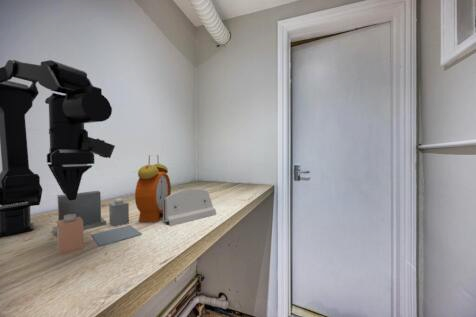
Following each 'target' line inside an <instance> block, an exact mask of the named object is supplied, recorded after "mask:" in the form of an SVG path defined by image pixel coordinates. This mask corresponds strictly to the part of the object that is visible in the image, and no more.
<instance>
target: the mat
mask: <svg viewBox="0 0 476 317" xmlns="http://www.w3.org/2000/svg"><path fill="white" fill-rule="evenodd" d="M141 235H143V234H142V232H140V231H139V230H137V229H136V228H135V227H133V226H132V225H131V224H128V225H125V226H120V227H117V228H115V227H114V228H112V229H108V230H103V231H98V232H95V233H91V235H90V236H91V237H92V238H93V240H94V241H95V242H96V244H97V245H98V246H99V247H103V246H106V245H110V244H113V243H118V242H120V241H124V240H127V239H131V238H134V237H138V236H141Z"/></svg>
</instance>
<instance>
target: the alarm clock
mask: <svg viewBox="0 0 476 317" xmlns="http://www.w3.org/2000/svg"><path fill="white" fill-rule="evenodd" d="M151 156H152V155H148V164H146V165H143V166H141V167H140V168H139V169H138V171H137V176H138V180H137V183H136V184H135V185H136V186H135V193H134V200H135V206H136V208H137V210H138V211H139V217H138V223H156V222H158V221H159V220H160V215H163V200H164V198H166V197H167V196H169V195H171V194H172V193H171V190H172V188H171V187H172V186H171V185H172V184H171V180H170V176H169V175H168V172H169V169H168V168H167V166H166V165H164V164H161V163H159V155H157V154H156V158H157V163H154V164H150V163H151V161H150V160H151Z"/></svg>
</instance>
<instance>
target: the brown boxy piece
mask: <svg viewBox="0 0 476 317" xmlns="http://www.w3.org/2000/svg"><path fill="white" fill-rule="evenodd" d="M56 226H57V236H56V238H57V239H56V240H57V243H56V244H57V245H56V246H57V252H58V255H61V254H62V255H63V254H65V253H70V252H74V251H77V250H80V249H83V248H84V247H85V242H84V241H85V240H84V230H83V220H82V218H81V217H76V214H68V215H65V216H64V220H58V219H57V220H56Z"/></svg>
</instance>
